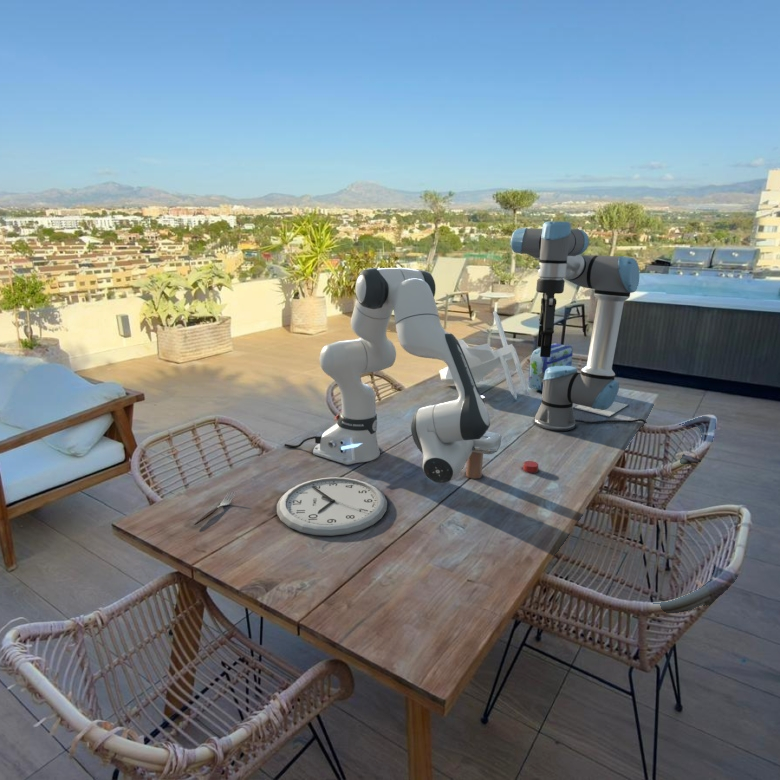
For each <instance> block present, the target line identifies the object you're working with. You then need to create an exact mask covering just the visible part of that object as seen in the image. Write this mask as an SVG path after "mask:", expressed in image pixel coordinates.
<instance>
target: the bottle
mask: <svg viewBox="0 0 780 780" xmlns="http://www.w3.org/2000/svg"><path fill="white" fill-rule="evenodd" d="M480 396H481V398H482V400H483V402H484V404H485V405H486V402H485V401H486V396H484V395H481V394H480ZM483 463H484V454H482V453H477V452H472V454H471V455H470V457H469V459H468V460H467V462H466V468H465V469H466V470H465V471H466V472H465V476H466V477H467V478H469V479H473V480H474V479H475V480H478V479H481V478H482V475H483Z"/></svg>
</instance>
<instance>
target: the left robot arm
mask: <svg viewBox="0 0 780 780" xmlns="http://www.w3.org/2000/svg"><path fill="white" fill-rule="evenodd" d="M436 287H437V286H436V282H435V278H434V277H433V275H432V274H431V273H430V272H429V271H426V270H423V269H419V268H417V269H413V268H405V267H383V268H376V267H370V268H366V269H362V270H361V271H360V273H358V275H357V276H356V279H355V287H354V290H355V292H354V293H355V298H356V300H355V304H354V307H353V311H352V314H351V319H350V327H351V330H352V332H353V333H354V334H355V335H356V336H357V337H359V338H356V339H348V340H347V339H346V340H340V341H338V340H337V341H335V342H332V343H329V344H325V345H324V346H323V347H322V348H321V350H320V353H319V365H320V367H321V370H322V371H323V372H324V374H325V375H327V376H328V377H330V378H331V379H332V380H333V381H334V382H335V383H336V385H337V387H338V389H339V393H340V400H341V401H340V402H341V410H340V412H339V413H337V415H336V416H335V417H334V421H337V422H336V423H334V424H333V425H331V426H330V427H328V428H327V429H326V430H325V431H324V430H323V431H322V430H320V431H318V432H317V434H316V435H313V436H309V437H306V438H304V439H303V440H302V441H301V442H299V444H296V445H293V444H287V443H284V447H288V448H293V449H294V448H295V449H296V448H300V447H301V446H302V445H303V444H304V443H305V442H308V441H310V440H315V441H314V443H315V444H316V445H315V446H314V447H313V450H312V453H313V456H316V457H317V456H318V457H321V458H324V459H327V460H331V461H333V462H337V463H339V464H343V465H347V466H349V465H354V464H357V463H359V464H360V463H367V462H371V461H374V460H376V459H378V458H379V457H380V455H381V451H380V448H379V444H378V436H377V430H378V414H377V411H376V409H377V407H376V405H377V403H376V401H377V400H376V399H377V398H376V397H377V395H376V391H375V390H374V387H372V386H370V385H369V384H367V383H366V382H365V383H364V382H362V379H361V378H362V377H361V376H362V374H369V373H376V372H377V373H378V372H380V371H384V370H386V369H389V368H391V367H392V366H394V364H395V362H396V359H397V349H396V346H395V345H394V343H393V342H392V341H391V340H390V338H388V336H387V330H388V327H389V324H390V320H391V318H392V314H393V315H394V324H395V330H396V335H397V340H398V342H399V344H400V346H401V348H402V349H403V350H404V351H405V352H406V353H408V354H409V355H412V356H415V357H418V358H424V359H432V360H439V361H442V362H444V363H445V365H447V367H449V370H450V372H451V375H452V378H453V380H454V383H455V384H454V385H455V388H456V391H457V393H458V396H457V398H456V399H454V400H449V401H445V402H440V403H435V404H430V405H427V406H422V407H419V408H418V409H416V411H415V413H414V415H413V417H412V420H411V424H410V431H411V437H412V440H413V442H414V444H415V446H416V448H417V449H418V450H419V451H420V452H421V454H422V471H423V474H424V476H425V477H426V478H427V479H428V480H430V481H432V482H434V483H437V484H447V483H449V482H451V481H453V480H454V479H455V478H457V476H458V475H459V474H460V473H461V471H463V468H464V467H465V464H467V460H468V459H469V457H470V455H471V454H472V452H477V453H482V454H483V455H494V454H496V453H497V452H498V451H499V449H500V447H501V444H502V435H501V434H500V433H499V432H494V431H489V428H490V426H491V418H490V417H491V416H490V412H489V410H488V408H487V406H486V403H485V404H484V402H483V400H482V398H481V396H480V395H481V394H480V391H479V389H478V387H477V383H475V381H474V378H473V376H472V373H471V371H470V368H469V365H468V363H467V360H466V358H465V355H464V353H463V351H462V348H461V346H460V344H459V342H458V340H457V339H458V338H456V336H455V335H454V334H453V333H451V332H447V331H446V329H444V327H443V325H442V323H441V319H440V314H439V309H438V307H437V302H436V299H435V295H436Z"/></svg>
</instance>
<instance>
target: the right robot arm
mask: <svg viewBox="0 0 780 780" xmlns="http://www.w3.org/2000/svg"><path fill="white" fill-rule="evenodd" d="M589 244H590V238H589V236H588V234H587V232H586V231H584V230H582V229H580V228H572V224H571V222H570V221H555V220H554V221H552V220H551V221H550V220H549V221H545V222H544V223H543V225H542V228H528V227H524V228H516V229H515V230H514V231H513V232H512V235H511V238H510V248H511V250H512V252H513V253H515V254H520V255H528V256H530V257H532V258H534V259H536V260H537V261H538V262H539V263H538V265H537V266H536V268H535V269H536V270H538V272H537V277H539V278H538V279H536V288H535V289H536V290H535V291H536V292H537V293H540V294H542V297H541V298H540V314H539V319H538V321H539V323H538V324H539V325H538V334H537V344H536V346H537V348H541V351H540V357H550V353H551V344H553V335H554V334H555V315H556V314H555V313H556V306H557V298H555V295H556V294H557V295H558V294H562V293H564V291H565V284H566V283H565V282H566V281H568V282H570V283H572V284H573V285H576V286H578V287H582V288H585V289H591V290H594V292H593V295H594V296H595V298H596V300H597V301H596V302H597V303H596V308H595V314H594V320H593V325H592V331H591V337H590V342H589V343H590V344H589V349H588V354H587V361H586V365H585V366H584V367H583V368H581V370H580V372H578V368H577V366H572V365H571V366H554V367H550V368H548V369H546V371H545V375H544V379H543V380H544V381H543V391H541V392H542V394H541V402H540V405H539V407H538V410H537V411H536V413H535V416H534V424H535V425H536V426H537V427H539V428H542V429H544V430H549V431H556V432H567V431H572V430H574V429H575V428H576V423H582V424H601V423H636V422H643V423H644V424H647V423H648V422H647V421H646V420H645V419H643V418H637V419H632V420H631V419H629V420H626V419H622V420H621V419H604V420H593V421H591V420H590V421H588V420H582V419H576V418H575V417H576V416H575V413H574V407H573V405H574V404H575V405H583V406H587V407H591V408H593V409H600V410H606V409H608V408H609V407H610V406H611V405H612V404H613V402H615V400H616V398H617V396H618V394H619V389H620V382H619V380H618V379H615V377H616V373H615V371H614V370H613V363H614V360H615V359H614V358H615V352H616V348H617V342H618V336H619V330H620V325H621V320H622V314H623V308H624V303H625V302H626V301H627V300H628V299H630V298H631V297H630V296H631V294H632V293H633V294H634V293H635V292H636V291H638V287H639V284H640V267H639V264H638V263H639V262H638V261H637V260H636V258H633V257H630V256H623V255H621V256H617V255H598V254H597V255H596V254H583V253H585V252H586V251H587V249H588V247H589ZM565 280H566V281H565Z"/></svg>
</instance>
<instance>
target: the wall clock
mask: <svg viewBox="0 0 780 780" xmlns="http://www.w3.org/2000/svg"><path fill="white" fill-rule="evenodd" d="M387 509H388V500H387V498H386V496H385V494H384V493H383V492H382V491H381V490H380V489H379V488H377V487H376V486H374V485H372V484H371V483H369V482H365V481H362V480H359V479H355V478H349V477H338V476H337V477H335V476H333V477H332V476H331V477H322V478H317V479H312V480H307V481H305V482H302V483H299V484H297V485H295V486H293V487H292V488H290V489H288V490H287V491H286V492H285V493H284V494H283V495H281V496H280V498H279V499H278V502H277V503H276V515H277V517H278V518H279V520H280V521H281V522H282V523H283V524H285V525H286V526H287V527H288V528H290V529H293V530H295V531H297V532H299V533H303V534H308V535H312V536H327V537H328V536H329V537H331V536H332V537H333V536H342V535H350V534H352V533H356V532H361V531H363V530H366V529H368V528H369V527H372V526H373V525H375V524H376V523H378V522H379V521H380V520H381V519H382V518H383V517H384V516H385V514H386V512H387Z"/></svg>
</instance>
